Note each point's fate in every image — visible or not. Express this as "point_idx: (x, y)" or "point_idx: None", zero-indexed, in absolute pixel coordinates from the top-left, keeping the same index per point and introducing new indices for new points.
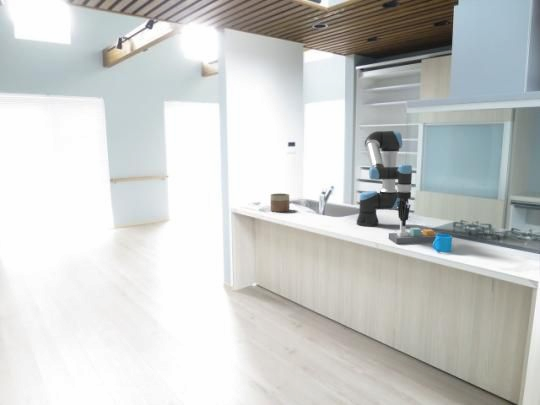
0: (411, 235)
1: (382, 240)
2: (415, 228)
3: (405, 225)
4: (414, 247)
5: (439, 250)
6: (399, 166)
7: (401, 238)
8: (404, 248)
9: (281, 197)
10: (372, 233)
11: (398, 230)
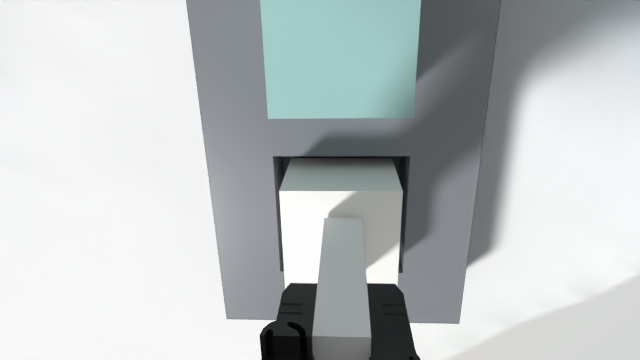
0: None
1: None
2: (335, 44)
3: (364, 269)
4: (612, 169)
5: None
6: None
7: (464, 274)
8: (605, 272)
9: None
10: (31, 336)
11: (288, 276)
